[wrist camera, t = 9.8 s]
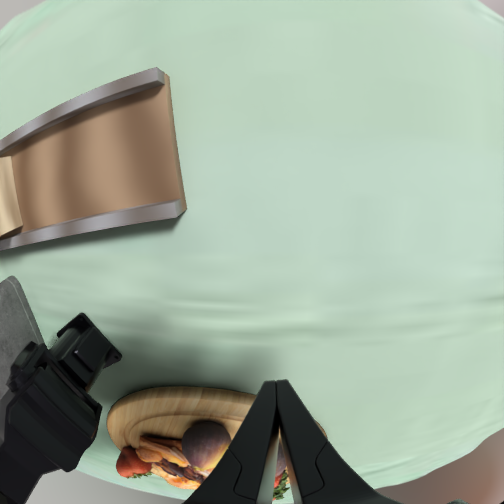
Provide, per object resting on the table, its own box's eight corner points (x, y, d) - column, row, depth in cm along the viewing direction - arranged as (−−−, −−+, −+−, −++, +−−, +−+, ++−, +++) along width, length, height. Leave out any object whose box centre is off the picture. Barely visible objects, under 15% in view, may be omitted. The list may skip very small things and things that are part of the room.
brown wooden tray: (169, 76, 17) (151, 63, 13) (186, 208, 20) (172, 221, 17) (-33, 174, 19) (-53, 179, 15) (-17, 250, 22) (-36, 261, 19)
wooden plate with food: (132, 464, 38) (123, 497, 30) (86, 354, 26) (55, 404, 19) (295, 484, 39) (298, 518, 31) (360, 388, 28) (380, 444, 20)
